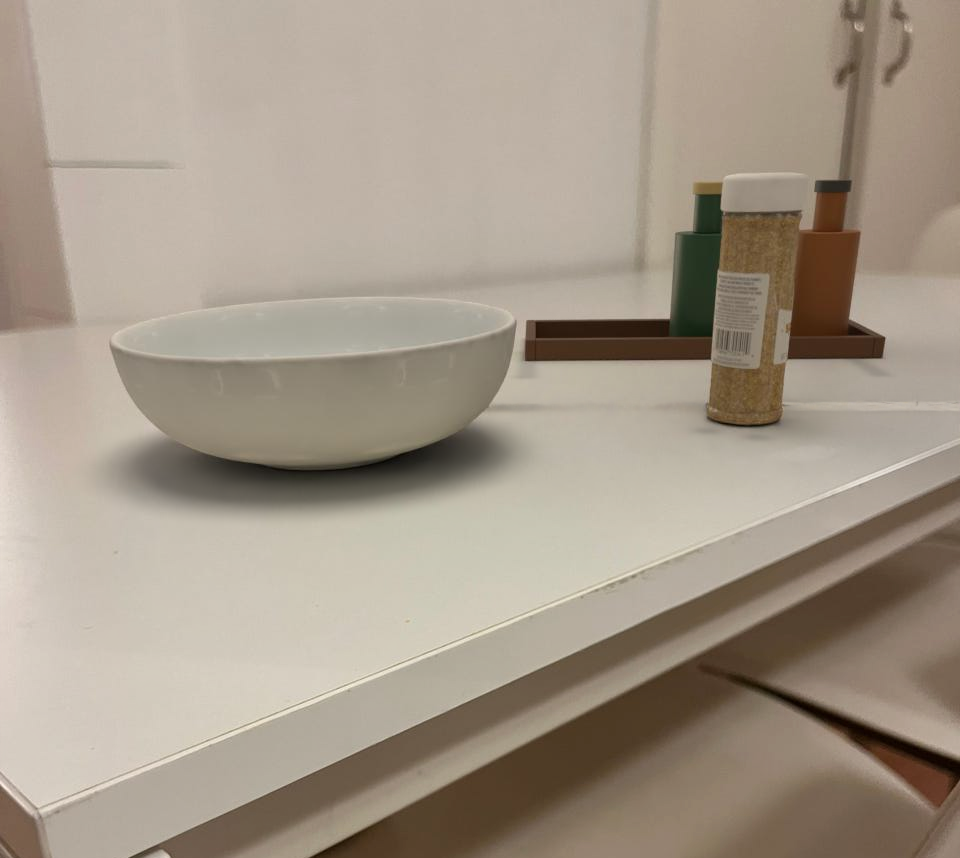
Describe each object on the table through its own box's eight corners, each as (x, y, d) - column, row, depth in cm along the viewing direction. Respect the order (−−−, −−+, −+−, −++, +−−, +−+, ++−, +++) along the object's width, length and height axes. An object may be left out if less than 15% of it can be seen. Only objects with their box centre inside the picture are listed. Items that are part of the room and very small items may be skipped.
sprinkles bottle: (798, 421, 60) (827, 171, 54) (735, 430, 58) (759, 173, 52) (749, 406, 64) (771, 171, 58) (688, 414, 62) (706, 173, 56)
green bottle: (724, 342, 82) (737, 181, 77) (734, 352, 78) (749, 182, 73) (664, 342, 83) (674, 182, 78) (672, 352, 78) (682, 183, 73)
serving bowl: (230, 403, 67) (217, 294, 64) (542, 412, 63) (543, 297, 60) (48, 496, 49) (17, 349, 46) (472, 517, 45) (469, 358, 42)
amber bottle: (835, 341, 82) (857, 179, 77) (852, 351, 78) (876, 180, 72) (776, 341, 82) (793, 180, 77) (789, 351, 78) (808, 181, 73)
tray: (842, 342, 85) (846, 316, 84) (881, 366, 75) (886, 336, 74) (526, 345, 86) (526, 319, 85) (524, 368, 77) (525, 339, 76)
